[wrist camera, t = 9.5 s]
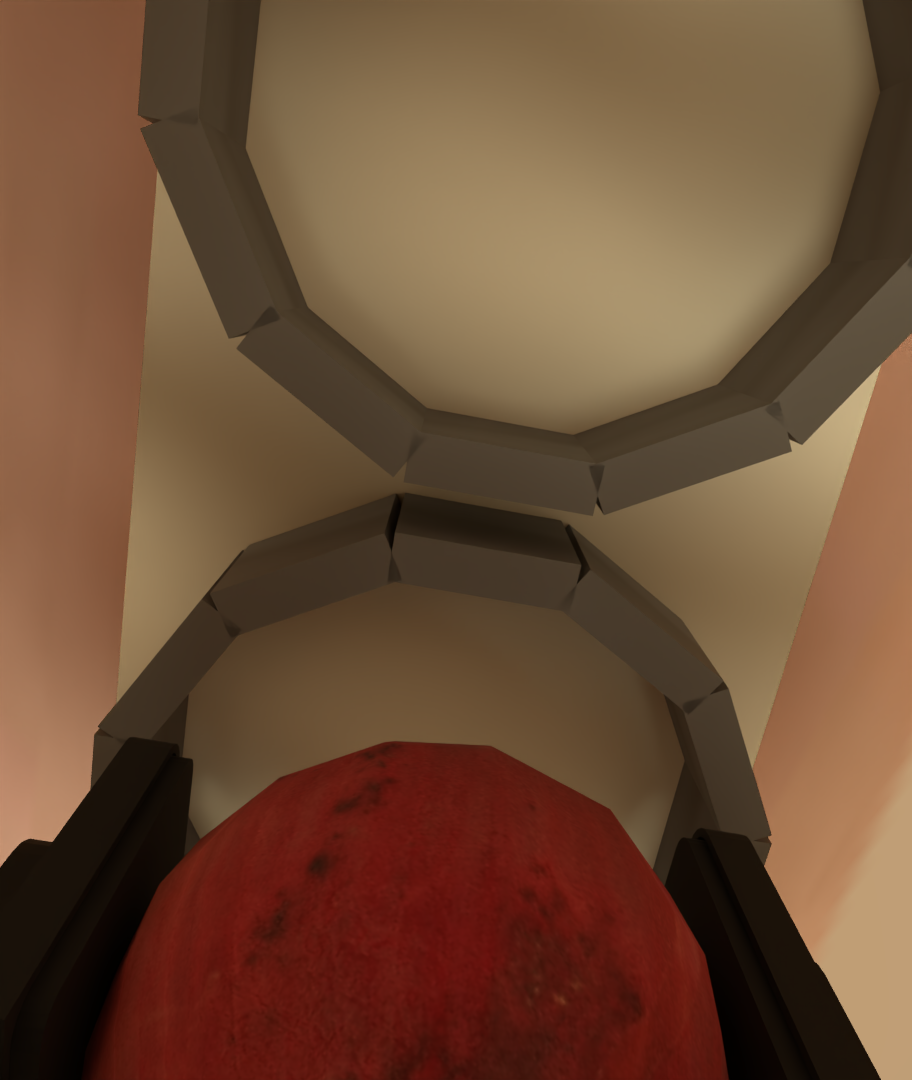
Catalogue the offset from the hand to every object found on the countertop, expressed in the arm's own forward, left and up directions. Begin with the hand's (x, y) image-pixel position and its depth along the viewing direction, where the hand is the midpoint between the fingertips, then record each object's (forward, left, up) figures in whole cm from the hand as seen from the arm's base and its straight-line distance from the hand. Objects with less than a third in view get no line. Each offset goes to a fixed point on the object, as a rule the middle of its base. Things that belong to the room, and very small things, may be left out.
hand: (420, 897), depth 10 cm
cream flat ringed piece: (-4, 0, -4) cm, 6 cm away
